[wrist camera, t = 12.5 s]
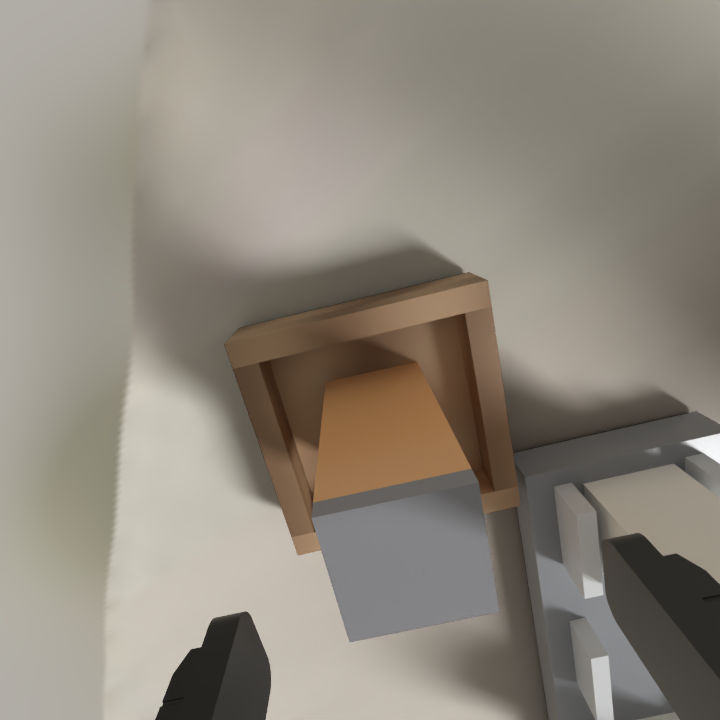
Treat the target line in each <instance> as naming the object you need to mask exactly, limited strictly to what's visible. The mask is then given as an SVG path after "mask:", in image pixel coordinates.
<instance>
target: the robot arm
mask: <svg viewBox="0 0 720 720" xmlns="http://www.w3.org/2000/svg"><path fill="white" fill-rule="evenodd" d="M602 558H603V570H604V582H605V592H606V598H607V601H608V605H609V607H610V610H611V612H612V615H613V617H614V619H615V621H616V622H617V624H618V626H619V627H620V629H621V631H622V632H623V634H624V635H625V637H626V638H627V640H628V641H629V643H630V644H631V646H632V647H633V649H634V650H635V652H636V653H637V655H638V657H639V658H640V660H641V661H642V663H643V664H644V666H645V667H646V669H647V670H648V672H649V673H650V675H651V676H652V678H653V679H654V681H655V683H656V684H657V686H658V687H659V689H660V690H661V692H662V693H663V695H664V696H665V698H666V699H667V701H668V702H669V704H670V705H671V707H672V709H673V710H674V712H675V713H676V715H677V716H678V718H679V719H680V720H720V584H719V583H718V582H717V581H716V580H715V579H714V578H713V577H712V576H711V575H710V574H709V573H708V572H707V571H706V570H704V569H703V568H701V567H699V566H697V565H696V564H694V563H692V562H691V561H689V560H687V559H685V558H684V557H682V556H680V555H678V554H677V553H676V554H671V555H666V556H663V555H662V554H661V553H660V552H659V551H658V550H657V549H656V548H655V547H654V546H653V545H652V543H651V542H650V541H649V540H648V539H647V538H646V537H645V536H644V535H642V534H640V533H634V534H630V535H625V536H620V537H615V538H610V539H605V540H603V541H602ZM270 688H271V671H270V664H269V660H268V657H267V655H266V652H265V650H264V647H263V645H262V642H261V640H260V637H259V635H258V632H257V630H256V628H255V625H254V623H253V620H252V618H251V616H250V614H249V613H248V612H241V613H236V614H232V615H227V616H222V617H217V618H214V619H213V620H212V621H211V623H210V625H209V627H208V630H207V633H206V636H205V638H204V641H203V644H202V647H201V648H196V649H191V650H190V652H189V653H188V654H187V656H186V657H185V658H184V660H183V661H182V663H181V664H180V665H179V667H178V668H177V670H176V671H175V672H174V674H173V676H172V678H171V681H170V684H169V686H168V689H167V691H166V694H165V696H164V699H163V706H162V707H160V709H159V712H158V714H157V717H156V719H155V720H265V719H266V713H267V707H268V701H269V696H270Z"/></svg>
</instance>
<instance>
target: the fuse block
mask: <svg viewBox="0 0 720 720" xmlns="http://www.w3.org/2000/svg"><path fill="white" fill-rule="evenodd" d="M513 456H514V463H515V470H516V477H517V483H518V490H519V497H520V504H521V506H517V512H518V519H519V526H520V532H521V539H522V546H523V552H524V559H525V566H526V572H527V579H528V585H529V592H530V599H531V605H532V612H533V619H534V625H535V632H536V639H537V645H538V652H539V658H540V665H541V672H542V678H543V685H544V692H545V698H546V705H547V712H548V718H549V720H680V719H679V718H678V716H677V715H676V713H675V712H674V710H673V709H672V707H671V705H670V704H669V702H668V701H667V699H666V698H665V696H664V695H663V693H662V692H661V690H660V689H659V687H658V686H657V684H656V683H655V681H654V679H653V678H652V676H651V675H650V673H649V672H648V670H647V669H646V667H645V666H644V664H643V663H642V661H641V660H640V658H639V657H638V655H637V653H636V652H635V650H634V649H633V647H632V646H631V644H630V643H629V641H628V640H627V638H626V637H625V635H624V634H623V632H622V631H621V629H620V627H619V626H618V624H617V622H616V621H615V619H614V617H613V615H612V612H611V610H610V607H609V605H608V601H607V598H606V592H605V582H604V570H603V558H602V541H603V540H605V539H610V538H615V537H620V536H625V535H630V534H634V533H640V534H642V535H644V536H645V537H646V538H647V539H648V540H649V541H650V542H651V543H652V545H653V546H654V547H655V548H656V549H657V550H658V551H659V552H660V553H661V554H662V555H663V556H666V555H671V554H676V553H677V554H678V555H680V556H682V557H684V558H685V559H687V560H689V561H691V562H692V563H694V564H696V565H697V566H699V567H701V568H703V569H704V570H706V571H707V572H708V573H709V574H710V575H711V576H712V577H713V578H714V579H715V580H716V581H717V582H718V583H719V584H720V424H718V423H716V422H715V421H713V420H711V419H709V418H707V417H706V416H704V415H702V414H700V413H698V412H691V413H687V414H683V415H678V416H674V417H669V418H665V419H661V420H656V421H652V422H647V423H643V424H639V425H634V426H630V427H625V428H621V429H617V430H612V431H608V432H603V433H599V434H595V435H590V436H586V437H581V438H577V439H573V440H568V441H564V442H560V443H555V444H551V445H546V446H542V447H538V448H533V449H529V450H524V451H520V452H516V453H513Z"/></svg>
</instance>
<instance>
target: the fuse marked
mask: <svg viewBox="0 0 720 720" xmlns="http://www.w3.org/2000/svg"><path fill="white" fill-rule="evenodd" d="M311 518H312V522H313V525H314V528H315V531H316V535H317V538H318V541H319V544H320V548H321V551H322V554H323V557H324V561H325V564H326V567H327V570H328V574H329V577H330V580H331V583H332V587H333V590H334V593H335V596H336V600H337V603H338V606H339V609H340V613H341V616H342V619H343V622H344V626H345V629H346V632H347V635H348V638H349V642H354V641H359V640H364V639H368V638H373V637H378V636H383V635H388V634H393V633H398V632H403V631H408V630H413V629H418V628H423V627H428V626H433V625H438V624H443V623H447V622H452V621H457V620H462V619H467V618H472V617H477V616H482V615H487V614H492V613H497V612H500V611H499V605H498V599H497V593H496V586H495V580H494V574H493V568H492V562H491V555H490V549H489V543H488V537H487V531H486V525H485V518H484V512H483V506H482V500H481V494H480V487H479V482H478V480H477V478H476V476H475V474H474V472H473V470H472V468H471V466H470V464H469V462H468V461H467V459H466V457H465V455H464V453H463V451H462V449H461V447H460V445H459V443H458V441H457V439H456V437H455V435H454V433H453V431H452V429H451V427H450V425H449V423H448V421H447V419H446V417H445V415H444V413H443V411H442V410H441V408H440V406H439V404H438V402H437V400H436V398H435V396H434V394H433V392H432V390H431V388H430V386H429V384H428V382H427V380H426V378H425V376H424V374H423V372H422V370H421V368H420V366H419V364H418V362H414V363H409V364H405V365H400V366H396V367H391V368H387V369H383V370H378V371H374V372H369V373H365V374H360V375H356V376H351V377H347V378H342V379H338V380H333V381H329V382H326V383H325V392H324V402H323V411H322V421H321V431H320V440H319V450H318V460H317V469H316V479H315V488H314V498H313V508H312V517H311Z"/></svg>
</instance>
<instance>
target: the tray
mask: <svg viewBox="0 0 720 720" xmlns="http://www.w3.org/2000/svg"><path fill="white" fill-rule="evenodd" d="M224 345H225V348H226V351H227V354H228V356H229V359H230V362H231V365H232V368H233V371H234V374H235V377H236V379H237V382H238V385H239V388H240V391H241V394H242V397H243V399H244V402H245V405H246V408H247V411H248V414H249V417H250V419H251V422H252V425H253V428H254V431H255V434H256V437H257V439H258V442H259V445H260V448H261V451H262V454H263V457H264V460H265V462H266V465H267V468H268V471H269V474H270V477H271V480H272V482H273V485H274V488H275V491H276V494H277V497H278V500H279V502H280V505H281V508H282V511H283V514H284V517H285V520H286V523H287V525H288V528H289V531H290V534H291V537H292V540H293V543H294V545H295V548H296V551H297V554H298V555H302V554H306V553H311V552H315V551H320V550H321V548H320V544H319V541H318V538H317V535H316V531H315V528H314V525H313V522H312V518H311V517H312V508H313V498H314V488H315V479H316V469H317V460H318V450H319V440H320V431H321V421H322V411H323V402H324V392H325V383H326V382H329V381H333V380H338V379H342V378H347V377H351V376H356V375H360V374H365V373H369V372H374V371H378V370H383V369H387V368H391V367H396V366H400V365H405V364H409V363H414V362H418V364H419V366H420V368H421V370H422V372H423V374H424V376H425V378H426V380H427V382H428V384H429V386H430V388H431V390H432V392H433V394H434V396H435V398H436V400H437V402H438V404H439V406H440V408H441V410H442V411H443V413H444V415H445V417H446V419H447V421H448V423H449V425H450V427H451V429H452V431H453V433H454V435H455V437H456V439H457V441H458V443H459V445H460V447H461V449H462V451H463V453H464V455H465V457H466V459H467V461H468V462H469V464H470V466H471V468H472V470H473V472H474V474H475V476H476V478H477V480H478V482H479V487H480V494H481V500H482V506H483V512H484V514H486V513H490V512H495V511H499V510H504V509H508V508H513V507H517V506H521V504H520V497H519V490H518V483H517V477H516V470H515V463H514V456H513V449H512V443H511V436H510V429H509V422H508V416H507V409H506V402H505V395H504V388H503V382H502V375H501V368H500V361H499V354H498V348H497V341H496V334H495V327H494V320H493V314H492V307H491V300H490V293H489V286H488V280H486V279H483V278H481V277H479V276H477V275H474V274H472V273H470V272H468V273H464V274H460V275H455V276H451V277H447V278H443V279H439V280H435V281H431V282H427V283H423V284H419V285H414V286H410V287H406V288H402V289H398V290H394V291H390V292H386V293H382V294H378V295H373V296H369V297H365V298H361V299H357V300H353V301H349V302H345V303H341V304H337V305H332V306H328V307H324V308H320V309H316V310H312V311H308V312H304V313H300V314H296V315H291V316H287V317H283V318H279V319H275V320H271V321H267V322H263V323H259V324H255V325H251V326H246V327H242V328H239V329H238V330H237V331H236V332H235V333H234V334H233V335H232V337H231V338H230V339H229V340H228V341H227V342H226V343H225V344H224Z"/></svg>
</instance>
